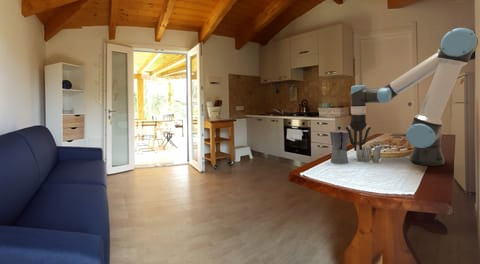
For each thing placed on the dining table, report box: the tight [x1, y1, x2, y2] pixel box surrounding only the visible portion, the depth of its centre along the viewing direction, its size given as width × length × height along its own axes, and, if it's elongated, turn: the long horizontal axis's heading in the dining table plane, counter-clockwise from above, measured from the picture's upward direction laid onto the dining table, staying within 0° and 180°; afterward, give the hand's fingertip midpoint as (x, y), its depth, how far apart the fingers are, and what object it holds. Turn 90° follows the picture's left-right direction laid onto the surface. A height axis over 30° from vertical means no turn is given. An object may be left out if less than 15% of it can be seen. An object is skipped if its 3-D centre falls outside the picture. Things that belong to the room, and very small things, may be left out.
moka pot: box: [329, 126, 349, 165], centre depth 156 cm, size 10×15×20 cm, turn 174°
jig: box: [356, 145, 382, 164], centre depth 159 cm, size 11×12×7 cm
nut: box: [363, 152, 373, 161], centre depth 159 cm, size 5×5×3 cm
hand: (358, 156), depth 162 cm, fingers closed
